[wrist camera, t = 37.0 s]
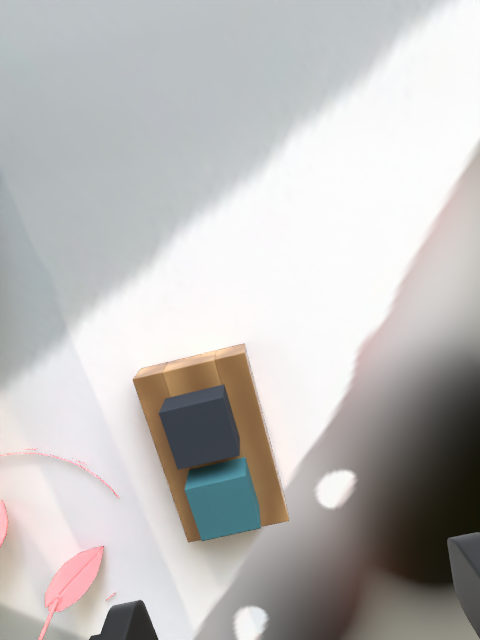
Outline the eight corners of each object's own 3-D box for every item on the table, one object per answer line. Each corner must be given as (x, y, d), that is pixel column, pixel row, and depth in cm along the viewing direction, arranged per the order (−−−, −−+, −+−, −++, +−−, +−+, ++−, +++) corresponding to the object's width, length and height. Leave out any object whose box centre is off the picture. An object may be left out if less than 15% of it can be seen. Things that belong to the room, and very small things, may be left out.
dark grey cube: (186, 435, 39) (177, 470, 33) (170, 386, 38) (158, 412, 32) (240, 423, 39) (239, 455, 33) (225, 372, 38) (222, 397, 32)
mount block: (191, 521, 42) (188, 542, 39) (140, 368, 38) (132, 379, 35) (285, 501, 41) (289, 521, 38) (244, 343, 37) (244, 352, 34)
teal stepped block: (207, 498, 41) (201, 541, 35) (192, 452, 40) (184, 489, 34) (258, 486, 41) (261, 528, 35) (245, 440, 39) (245, 475, 34)
